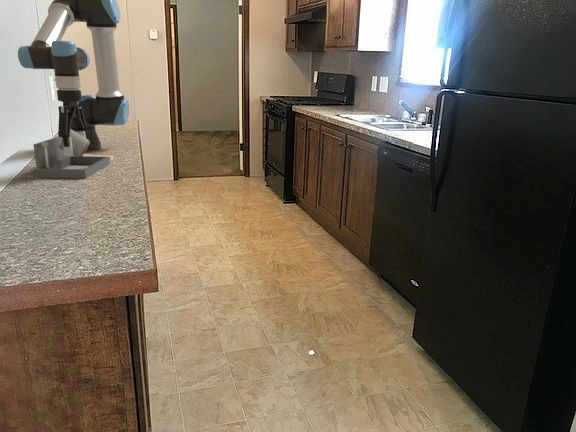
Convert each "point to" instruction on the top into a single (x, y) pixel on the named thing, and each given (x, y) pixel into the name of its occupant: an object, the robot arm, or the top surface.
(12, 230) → the top surface
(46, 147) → the case
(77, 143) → the ceramic mug
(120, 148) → the top surface
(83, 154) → the beige square panel
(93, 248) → the top surface
